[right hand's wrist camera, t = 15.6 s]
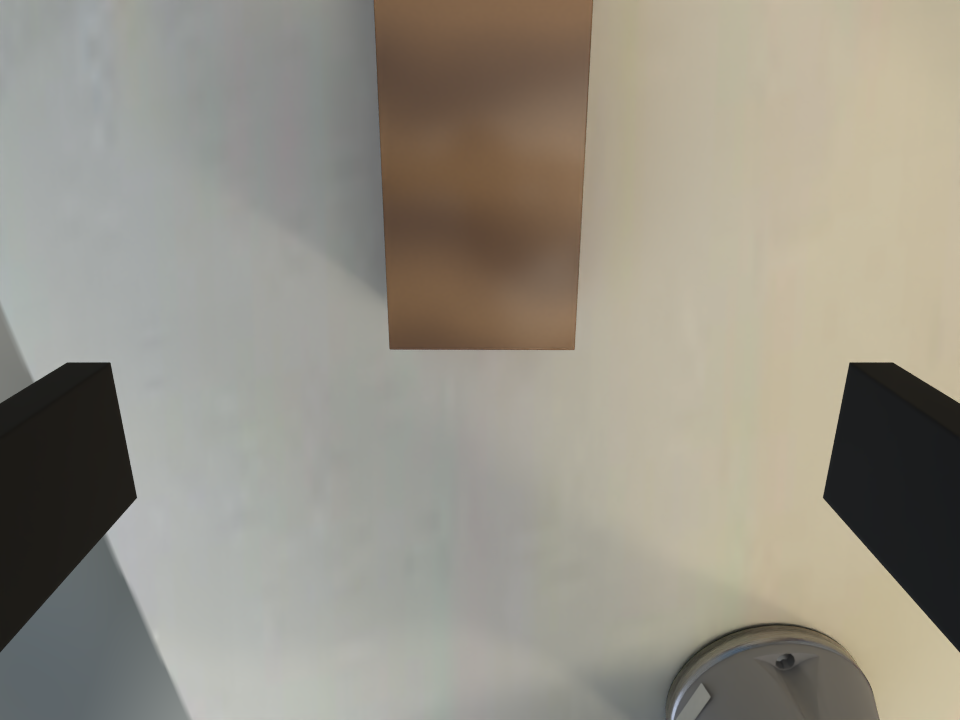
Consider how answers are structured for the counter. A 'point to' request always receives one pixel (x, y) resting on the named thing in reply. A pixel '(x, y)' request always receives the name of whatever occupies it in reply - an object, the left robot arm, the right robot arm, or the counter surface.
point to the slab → (482, 170)
